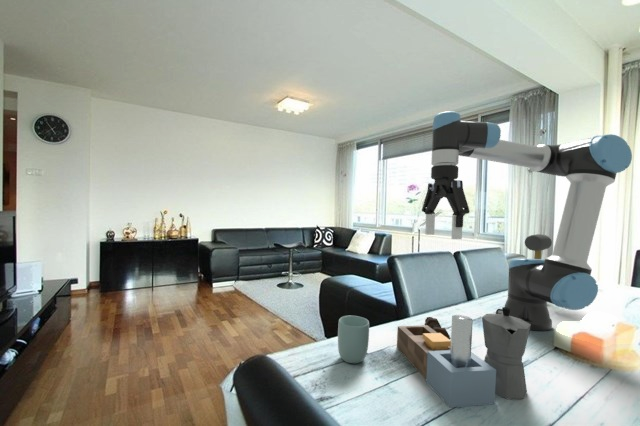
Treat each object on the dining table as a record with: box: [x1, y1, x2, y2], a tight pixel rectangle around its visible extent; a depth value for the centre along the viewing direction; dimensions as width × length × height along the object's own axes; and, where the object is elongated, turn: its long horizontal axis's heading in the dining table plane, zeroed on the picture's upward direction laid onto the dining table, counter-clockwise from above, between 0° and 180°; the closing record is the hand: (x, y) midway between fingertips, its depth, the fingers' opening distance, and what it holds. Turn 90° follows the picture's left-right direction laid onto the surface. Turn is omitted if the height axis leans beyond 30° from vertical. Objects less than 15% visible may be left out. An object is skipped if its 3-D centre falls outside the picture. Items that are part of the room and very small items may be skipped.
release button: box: [423, 333, 451, 350], centre depth 75 cm, size 5×5×7 cm
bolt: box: [424, 316, 451, 340], centre depth 96 cm, size 6×5×15 cm
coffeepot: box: [481, 306, 531, 401], centre depth 69 cm, size 15×9×18 cm, turn 159°
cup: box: [337, 315, 370, 364], centre depth 79 cm, size 8×8×10 cm
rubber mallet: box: [524, 233, 552, 259], centre depth 141 cm, size 12×8×30 cm, turn 125°
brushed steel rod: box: [450, 314, 473, 368], centre depth 66 cm, size 4×4×16 cm
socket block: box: [396, 325, 451, 380], centre depth 79 cm, size 9×16×6 cm, turn 10°
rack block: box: [425, 350, 496, 408], centre depth 66 cm, size 10×9×7 cm
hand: (442, 236), depth 93 cm, fingers open, 13 cm apart
